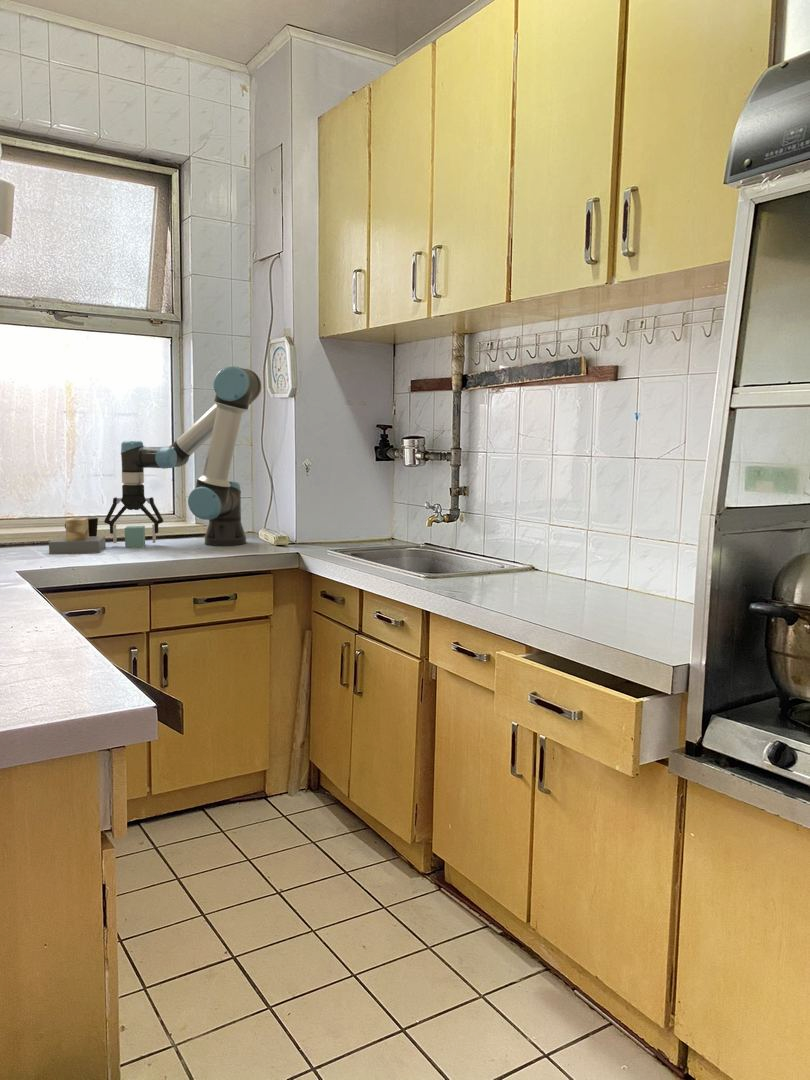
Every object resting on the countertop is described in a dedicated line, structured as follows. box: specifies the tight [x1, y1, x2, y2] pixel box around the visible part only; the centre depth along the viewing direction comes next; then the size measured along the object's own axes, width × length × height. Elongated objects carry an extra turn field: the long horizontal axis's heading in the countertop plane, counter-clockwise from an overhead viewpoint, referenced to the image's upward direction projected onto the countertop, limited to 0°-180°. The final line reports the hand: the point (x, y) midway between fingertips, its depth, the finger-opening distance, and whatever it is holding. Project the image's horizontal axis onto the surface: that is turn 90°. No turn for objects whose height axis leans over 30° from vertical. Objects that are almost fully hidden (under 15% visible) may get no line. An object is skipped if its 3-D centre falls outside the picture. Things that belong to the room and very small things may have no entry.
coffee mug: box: [64, 516, 99, 536], centre depth 300 cm, size 12×9×10 cm
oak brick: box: [64, 517, 89, 541], centre depth 286 cm, size 6×8×7 cm
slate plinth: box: [48, 535, 107, 555], centre depth 287 cm, size 16×14×4 cm
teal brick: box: [124, 525, 146, 549], centre depth 299 cm, size 6×8×7 cm
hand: (134, 542), depth 299 cm, fingers open, 13 cm apart
